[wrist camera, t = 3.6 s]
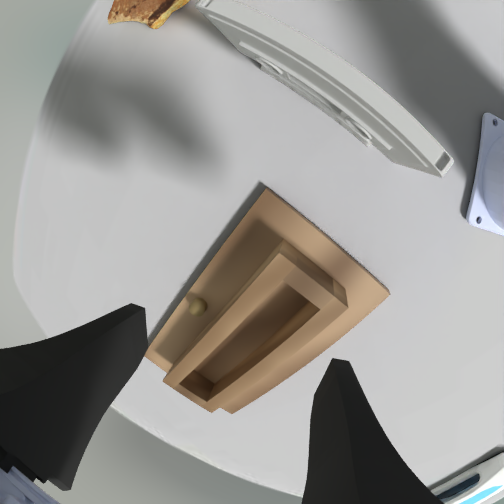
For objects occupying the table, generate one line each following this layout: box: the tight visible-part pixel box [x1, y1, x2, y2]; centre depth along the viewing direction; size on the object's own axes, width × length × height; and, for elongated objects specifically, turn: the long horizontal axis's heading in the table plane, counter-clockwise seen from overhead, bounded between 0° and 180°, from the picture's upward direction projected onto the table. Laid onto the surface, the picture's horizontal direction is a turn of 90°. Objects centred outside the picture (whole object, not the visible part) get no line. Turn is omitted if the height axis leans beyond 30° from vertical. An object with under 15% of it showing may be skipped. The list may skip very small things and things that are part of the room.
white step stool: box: [430, 452, 504, 504], centre depth 27 cm, size 21×28×6 cm
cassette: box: [195, 0, 454, 178], centre depth 11 cm, size 12×2×8 cm, turn 55°
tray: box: [144, 187, 390, 414], centre depth 21 cm, size 11×20×3 cm, turn 144°
